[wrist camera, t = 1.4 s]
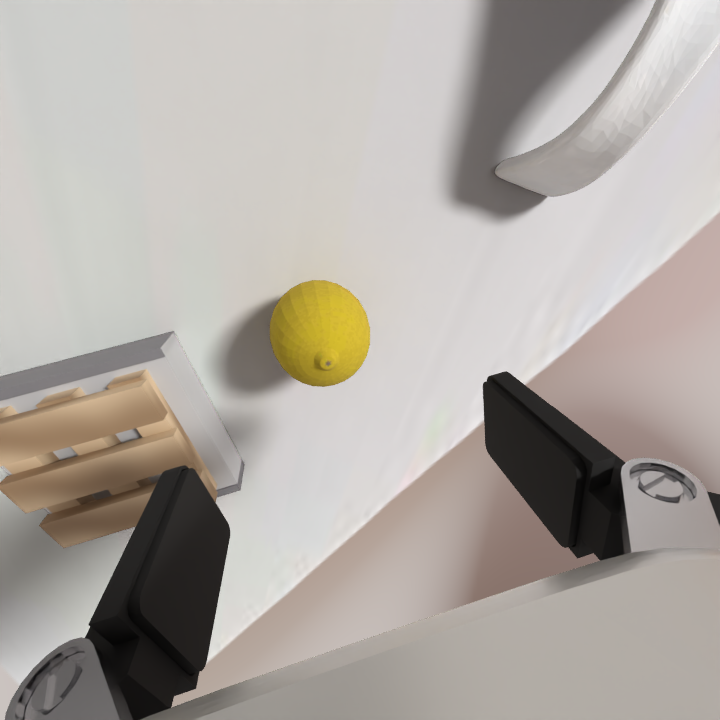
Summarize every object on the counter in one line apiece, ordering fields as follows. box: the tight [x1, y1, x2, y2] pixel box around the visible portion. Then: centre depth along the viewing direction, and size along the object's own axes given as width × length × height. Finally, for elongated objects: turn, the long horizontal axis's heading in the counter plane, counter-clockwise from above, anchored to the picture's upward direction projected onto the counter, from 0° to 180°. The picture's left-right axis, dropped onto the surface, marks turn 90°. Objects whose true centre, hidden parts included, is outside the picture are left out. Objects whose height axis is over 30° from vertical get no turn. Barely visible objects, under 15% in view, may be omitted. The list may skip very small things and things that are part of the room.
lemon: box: [270, 280, 370, 387], centre depth 18 cm, size 6×6×8 cm
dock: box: [0, 331, 244, 514], centre depth 22 cm, size 12×12×3 cm
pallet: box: [0, 369, 218, 548], centre depth 20 cm, size 10×10×2 cm
